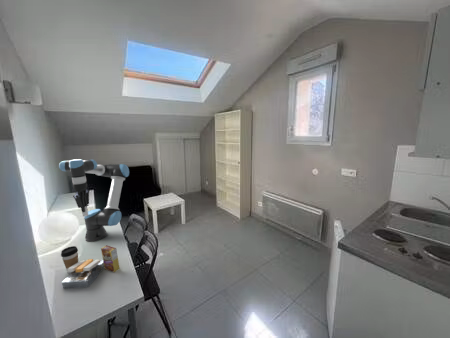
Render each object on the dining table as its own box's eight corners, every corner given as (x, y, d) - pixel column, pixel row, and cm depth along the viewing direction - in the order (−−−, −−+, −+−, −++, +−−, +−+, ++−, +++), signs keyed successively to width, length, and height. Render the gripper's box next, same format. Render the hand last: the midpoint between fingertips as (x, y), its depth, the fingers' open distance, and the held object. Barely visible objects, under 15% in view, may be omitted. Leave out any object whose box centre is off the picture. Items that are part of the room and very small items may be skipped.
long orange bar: (88, 262, 123) (88, 259, 123) (93, 261, 123) (93, 259, 123) (75, 272, 112) (75, 269, 112) (81, 272, 112) (81, 269, 112)
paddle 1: (80, 263, 123) (80, 260, 123) (86, 263, 123) (86, 260, 123) (67, 271, 112) (67, 268, 112) (73, 271, 112) (73, 268, 112)
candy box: (104, 269, 123) (100, 248, 120) (110, 265, 127) (106, 244, 124) (114, 273, 120) (110, 251, 117) (119, 268, 124) (116, 247, 121)
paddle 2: (95, 262, 123) (95, 259, 123) (100, 262, 123) (100, 259, 123) (83, 271, 112) (83, 267, 112) (89, 270, 112) (89, 267, 112)
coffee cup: (72, 275, 119) (67, 254, 116) (61, 273, 120) (56, 252, 117) (84, 266, 127) (80, 245, 124) (74, 264, 128) (69, 244, 125)
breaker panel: (84, 266, 127) (83, 259, 126) (106, 265, 127) (104, 258, 126) (63, 288, 109) (61, 280, 108) (88, 286, 110) (86, 279, 109)
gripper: (80, 180, 134) (86, 211, 139) (66, 185, 121) (73, 220, 126) (91, 180, 134) (96, 211, 139) (78, 185, 121) (84, 219, 126)
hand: (85, 215), depth 132 cm, fingers closed
